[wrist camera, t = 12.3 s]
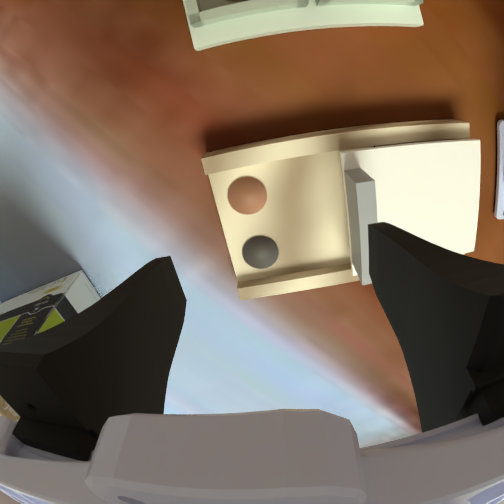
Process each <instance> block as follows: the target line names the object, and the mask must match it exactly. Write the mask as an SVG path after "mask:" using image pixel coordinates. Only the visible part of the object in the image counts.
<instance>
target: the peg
mask: <svg viewBox="0 0 504 504" xmlns="http://www.w3.org/2000/svg"><path fill="white" fill-rule="evenodd" d="M225 1H231V2H242V1H247V0H225Z"/></svg>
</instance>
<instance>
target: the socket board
mask: <svg viewBox="0 0 504 504" xmlns="http://www.w3.org/2000/svg"><path fill="white" fill-rule="evenodd" d="M183 3H184V8H185V12H186V16H187V20H188V24H189V28H190V33H191V37H192V41H193V45H194V49H195V50H197V51H199V50H203V49H207V48H211V47H215V46H219V45H223V44H227V43H232V42H236V41H241V40H246V39H251V38H256V37H262V36H268V35H274V34H280V33H287V32H294V31H302V30H311V29H322V28H334V27H352V26H408V27H418V26H422V25H424V24H423V20H422V16H421V12H420V8H419V4H421V3H424V2H423V0H247V1H242V2H231V1H225V0H183Z"/></svg>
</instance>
